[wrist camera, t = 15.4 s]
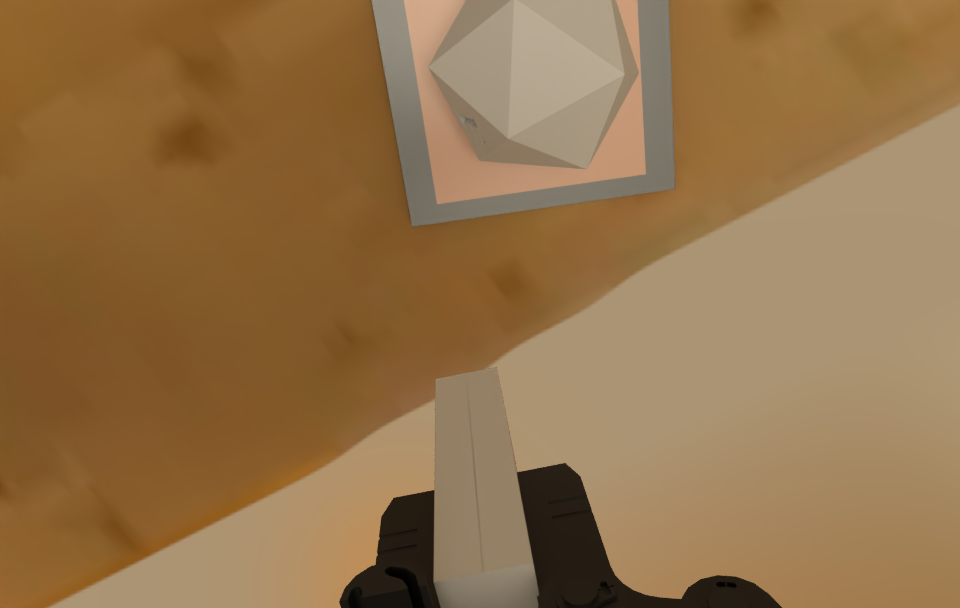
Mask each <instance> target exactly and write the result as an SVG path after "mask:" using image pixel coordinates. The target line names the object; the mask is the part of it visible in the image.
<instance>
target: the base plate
mask: <svg viewBox="0 0 960 608" xmlns="http://www.w3.org/2000/svg"><path fill="white" fill-rule="evenodd" d="M465 1H466V0H372V5H373V11H374V16H375V22H376V27H377V33H378V39H379V44H380V50H381V55H382V61H383V67H384V72H385V78H386V83H387V89H388V95H389V100H390V106H391V111H392V117H393V123H394V128H395V134H396V140H397V145H398V151H399V156H400V162H401V168H402V173H403V179H404V184H405V190H406V196H407V201H408V207H409V212H410V218H411V224H412V227H414V226H421V225H428V224H435V223H442V222H449V221H456V220H463V219H470V218H477V217H484V216H491V215H498V214H505V213H512V212H519V211H526V210H533V209H540V208H546V207H553V206H560V205H567V204H574V203H581V202H588V201H595V200H602V199H609V198H616V197H623V196H630V195H637V194H644V193H651V192H658V191H665V190H672V189H675V171H674V141H673V111H672V82H671V52H670V22H669V0H616V2H617V5H618V8H619V12H620V15H621V18H622V21H623V24H624V27H625V30H626V33H627V37H628V40H629V43H630V46H631V49H632V52H633V55H634V58H635V62H636V65H637V68H638V71H639V74H638V76H637V78H636V80H635V82H634V84H633V85H632V87H631V89H630V91H629V93H628V95H627V96H626V98H625V100H624V102H623V104H622V106H621V108H620V109H619V111H618V113H617V115H616V117H615V119H614V120H613V122H612V124H611V126H610V128H609V130H608V131H607V133H606V135H605V137H604V139H603V141H602V143H601V144H600V146H599V148H598V150H597V152H596V154H595V155H594V157H593V159H592V161H591V163H590V165H589V166H588V168H587V169H575V168H563V167H551V166H538V165H526V164H513V163H501V162H489V161H480V160H479V159H478V157H477V155H476V153H475V151H474V150H473V148H472V146H471V144H470V142H469V141H468V139H467V137H466V135H465V133H464V131H463V130H462V128H461V126H460V124H459V122H458V121H457V119H456V117H455V115H454V113H453V112H452V110H451V108H450V106H449V104H448V102H447V101H446V99H445V97H444V95H443V93H442V92H441V90H440V88H439V86H438V84H437V83H436V81H435V79H434V77H433V75H432V73H431V72H430V70H429V68H428V66H429V64H430V62H431V61H432V59H433V57H434V55H435V54H436V52H437V50H438V48H439V47H440V45H441V43H442V41H443V40H444V38H445V36H446V34H447V33H448V31H449V29H450V27H451V26H452V24H453V22H454V20H455V19H456V17H457V15H458V13H459V12H460V10H461V8H462V6H463V5H464V3H465Z"/></svg>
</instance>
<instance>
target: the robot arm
mask: <svg viewBox="0 0 960 608" xmlns="http://www.w3.org/2000/svg"><path fill="white" fill-rule="evenodd" d="M379 537H380V540H379V542H378V550H377V553H378V556H377V558H376V565H374V566H371V567H369V568H367V569H366V570H364V571H363V572H361V573H360V574H358V575H357V576H355V577H354V579H353V580H352V581H351V582H350V583H349V584H348V585H347V586H346V588H345V589H344V592H343V594H342V597H341V599H340V601H339V602H340V605H341V608H782V607H781V606H780V605H779V604H778V603H777V602H776V601H775V600H774V599H773V598H772V597H771V596H770V595H769V594H768V593H767V592H765V591H764V590H762V589H761V588H760V587H758V586H757V585H756V584H754V583H752V582H749V581H746V580H744V579H741V578H738V577H732V576H718V575H717V576H713V577H709V578H704V579H700V580H699V581H697V582H696V583H695V584H693V585H691V586H690V587H688V589H687V590H686V592H685V594H684V595H683V597H682V599H670V598H660V597H654V596H648V595H644V594H642V593H639V592H636V591H634V590H632V589H631V588H629V587H628V586H626V585H624V584H623V583H622V582H621V581H620V580H619V579H618V578H617V577H616V576H615V574H614V572H613V570H612V568H611V566H610V563H609V560H608V557H607V554H606V551H605V548H604V545H603V543H602V539H601V536H600V533H599V531H598V527H597V524H596V521H595V519H594V516H593V513H592V511H591V507H590V504H589V501H588V498H587V495H586V492H585V489H584V486H583V483H582V480H581V477H580V476H579V475H578V474H577V473H576V472H575V471H574V470H572V469H571V468H570V467H569V466H568V465H566V463H563V464H558V465H553V466H548V467H543V468H537V469H533V470H528V471H522V472H517V467H516V462H515V457H514V452H513V447H512V442H511V437H510V432H509V427H508V422H507V417H506V412H505V407H504V402H503V397H502V391H501V387H500V382H499V376H498V372H497V367H495V368H489V369H484V370H479V371H474V372H469V373H464V374H458V375H453V376H448V377H443V378H438V379H436V393H435V490H432V491H427V492H422V493H417V494H412V495H407V496H402V497H396V498H393V500H392V501H391V503H390V505H389V506H388V508H387V509H386V511H385V512H384V514H383V515H382V518H381V526H380V534H379Z"/></svg>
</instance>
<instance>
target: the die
mask: <svg viewBox="0 0 960 608" xmlns="http://www.w3.org/2000/svg"><path fill="white" fill-rule="evenodd" d="M428 68H429V70H430V72H431V73H432V75H433V77H434V79H435V81H436V83H437V84H438V86H439V88H440V90H441V92H442V93H443V95H444V97H445V99H446V101H447V102H448V104H449V106H450V108H451V110H452V112H453V113H454V115H455V117H456V119H457V121H458V122H459V124H460V126H461V128H462V130H463V131H464V133H465V135H466V137H467V139H468V141H469V142H470V144H471V146H472V148H473V150H474V151H475V153H476V155H477V157H478V159H479V160H480V161H489V162H501V163H513V164H526V165H538V166H551V167H563V168H575V169H587V168H588V166H589V165H590V163H591V161H592V159H593V157H594V155H595V154H596V152H597V150H598V148H599V146H600V144H601V143H602V141H603V139H604V137H605V135H606V133H607V131H608V130H609V128H610V126H611V124H612V122H613V120H614V119H615V117H616V115H617V113H618V111H619V109H620V108H621V106H622V104H623V102H624V100H625V98H626V96H627V95H628V93H629V91H630V89H631V87H632V85H633V84H634V82H635V80H636V78H637V76H638V74H639V71H638V68H637V65H636V62H635V58H634V55H633V52H632V49H631V46H630V43H629V40H628V37H627V33H626V30H625V27H624V24H623V21H622V18H621V15H620V12H619V8H618V5H617V2H616V0H466V1H465V3H464V5H463V6H462V8H461V10H460V12H459V13H458V15H457V17H456V19H455V20H454V22H453V24H452V26H451V27H450V29H449V31H448V33H447V34H446V36H445V38H444V40H443V41H442V43H441V45H440V47H439V48H438V50H437V52H436V54H435V55H434V57H433V59H432V61H431V62H430V64H429V66H428Z"/></svg>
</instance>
